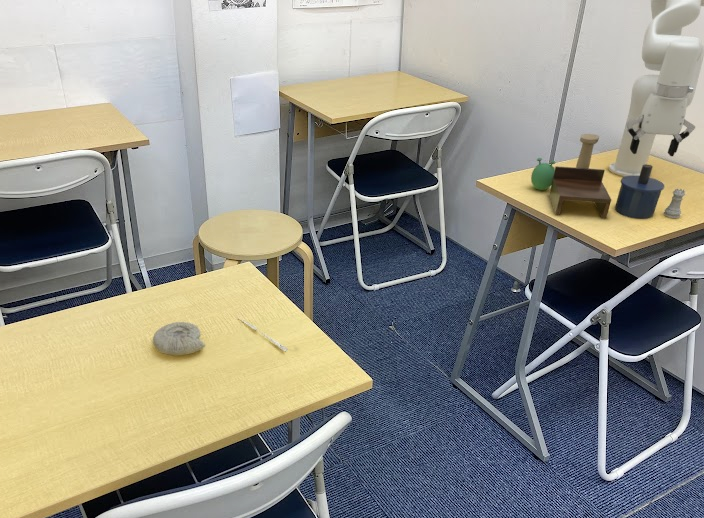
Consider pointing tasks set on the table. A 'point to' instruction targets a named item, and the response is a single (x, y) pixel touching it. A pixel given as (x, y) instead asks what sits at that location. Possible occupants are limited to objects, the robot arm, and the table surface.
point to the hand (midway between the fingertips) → (651, 153)
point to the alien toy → (543, 175)
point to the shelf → (579, 188)
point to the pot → (636, 203)
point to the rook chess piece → (675, 205)
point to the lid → (643, 181)
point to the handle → (586, 150)
